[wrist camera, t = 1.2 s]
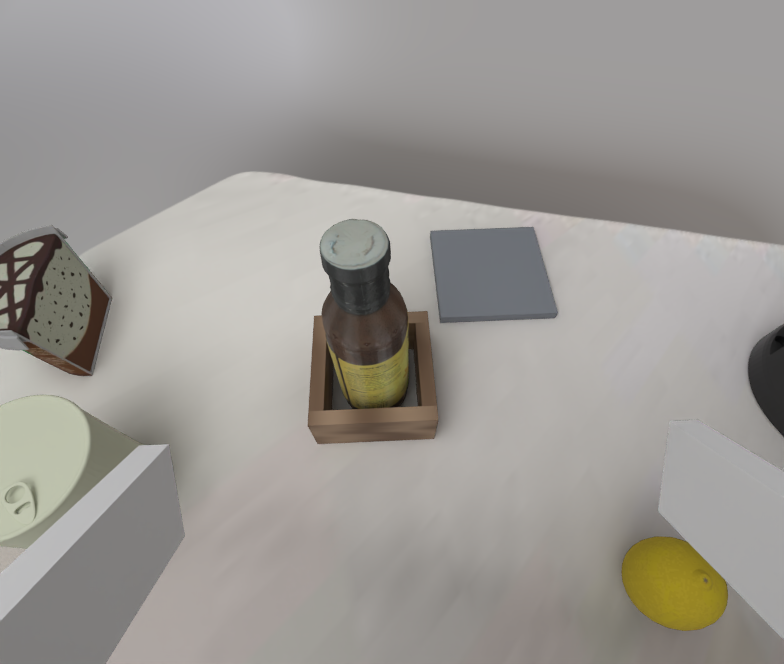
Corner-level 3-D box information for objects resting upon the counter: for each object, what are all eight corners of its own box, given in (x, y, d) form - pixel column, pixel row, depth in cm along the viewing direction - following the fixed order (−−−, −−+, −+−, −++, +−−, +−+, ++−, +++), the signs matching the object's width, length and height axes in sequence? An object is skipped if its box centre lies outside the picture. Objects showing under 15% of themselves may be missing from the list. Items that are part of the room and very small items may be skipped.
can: (77, 586, 33) (-66, 584, 23) (43, 487, 37) (-93, 447, 27) (190, 508, 36) (107, 475, 26) (148, 423, 40) (61, 365, 30)
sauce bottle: (421, 389, 41) (438, 246, 24) (373, 433, 39) (355, 311, 22) (375, 346, 44) (361, 190, 27) (327, 386, 42) (279, 243, 24)
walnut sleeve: (424, 338, 44) (427, 311, 40) (433, 438, 39) (438, 419, 35) (322, 342, 44) (314, 315, 40) (317, 443, 39) (307, 425, 34)
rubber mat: (530, 233, 51) (533, 227, 51) (554, 318, 45) (557, 312, 44) (430, 236, 51) (430, 230, 50) (440, 322, 45) (441, 317, 44)
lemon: (597, 540, 34) (647, 527, 28) (668, 544, 34) (737, 532, 27) (612, 624, 32) (672, 633, 25) (690, 628, 31) (771, 639, 25)
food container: (57, 292, 48) (-18, 227, 39) (115, 287, 48) (53, 220, 39) (22, 397, 41) (-76, 346, 33) (88, 389, 42) (8, 337, 33)
